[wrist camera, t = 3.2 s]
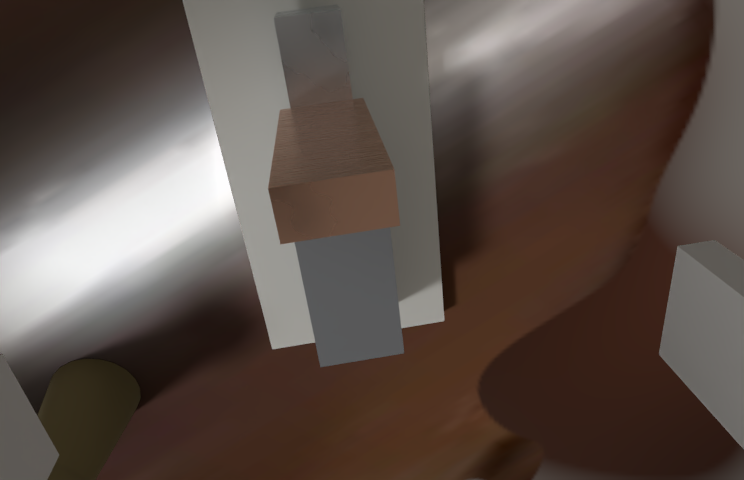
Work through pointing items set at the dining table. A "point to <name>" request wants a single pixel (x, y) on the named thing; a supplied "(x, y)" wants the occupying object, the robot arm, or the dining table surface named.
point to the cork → (87, 415)
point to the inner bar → (325, 138)
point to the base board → (269, 95)
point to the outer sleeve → (352, 296)
